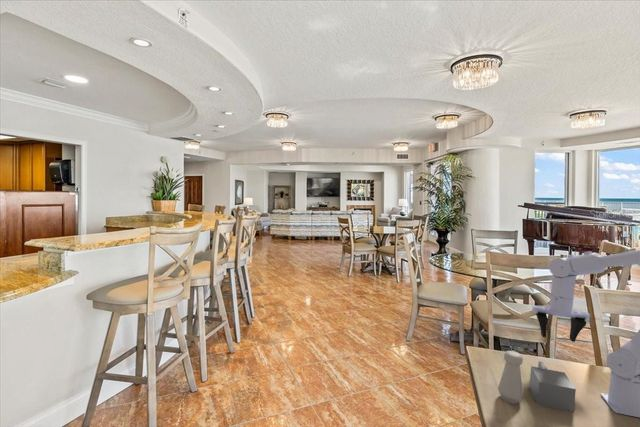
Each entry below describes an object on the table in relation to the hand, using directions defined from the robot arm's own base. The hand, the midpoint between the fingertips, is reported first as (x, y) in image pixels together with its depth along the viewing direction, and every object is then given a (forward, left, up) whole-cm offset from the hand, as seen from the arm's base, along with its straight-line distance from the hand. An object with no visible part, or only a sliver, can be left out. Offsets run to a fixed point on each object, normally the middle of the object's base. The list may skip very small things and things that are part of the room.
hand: (557, 338), depth 103 cm
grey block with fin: (+6, +15, -10) cm, 19 cm away
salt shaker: (+17, +22, -11) cm, 29 cm away
